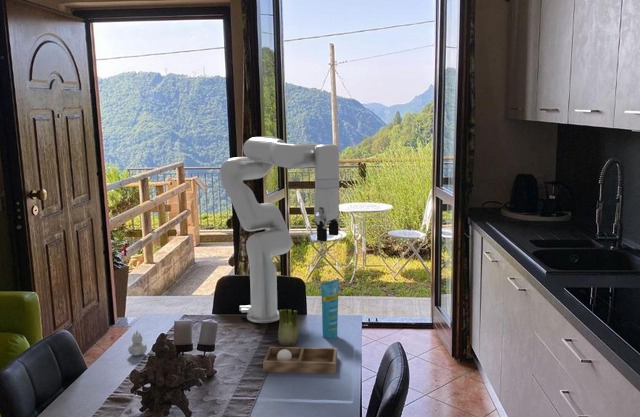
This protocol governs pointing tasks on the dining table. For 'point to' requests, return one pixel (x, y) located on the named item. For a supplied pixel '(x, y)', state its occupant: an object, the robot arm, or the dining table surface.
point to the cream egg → (284, 355)
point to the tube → (330, 308)
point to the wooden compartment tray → (302, 360)
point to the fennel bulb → (287, 328)
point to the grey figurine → (137, 345)
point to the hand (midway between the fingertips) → (327, 237)
